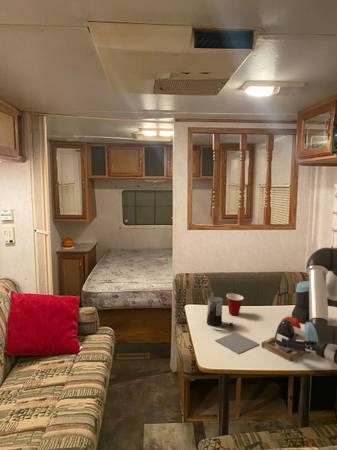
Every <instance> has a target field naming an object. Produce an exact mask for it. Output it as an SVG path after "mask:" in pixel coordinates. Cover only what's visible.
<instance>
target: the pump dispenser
mask: <svg viewBox="0 0 337 450" xmlns="http://www.w3.org/2000/svg"><path fill="white" fill-rule="evenodd" d="M277 334H280V335H282V336H284V337H287V338H289V339H290V340H294V341H297V338H296V337H297V335H295V331H294V327H293V325H292V323H291V322H290V321H289V320H282V319H281V320H280V322H279V324H278V325H277V328H276V331H275V334H274V337H275V339H274V341H275V343H274V344H275V347H276V348H278V349H280V350H282V351H284V352H286V353H288V352H292V351H293V350H294V349H291V348H287V344H286V343H283V342H281V341H279V340H277Z"/></svg>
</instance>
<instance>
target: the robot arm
mask: <svg viewBox="0 0 337 450" xmlns="http://www.w3.org/2000/svg"><path fill="white" fill-rule="evenodd" d="M305 268H306V269H305V271H306V274H307V275H308V280H306V281H303V280H302V281H299V282H298V283H297V284H296V288H295V300H294V301H295V303H294V307H293V309H292V311H291V316H290V317H292V318H296V319H297V320H298V321H299V323H300V324H304V330H303V329H299V328H296V327H294V326H293V327H294V331H295V333H296V334H298V335H299V336H301V337H304V338H305V340H303V341H301V340H296V341H294V340H290V339H289V338H287V337H284V336H282V335H280V334H277V340H279V341H281V342H283V343H286V344H287V348H291V349H293V350H295V351H296V350H300V351H304V352H306V353H307V354H310V353H311V351H312V352H315V354H316V356H318V357H320V358H322V359H325V360H327V361H329V362H332V363H333V364H335V365H337V326H336V325H331V324H330V325H329V307H333V308H337V248H336V247H321V248H318V249H316V250H315V251H314V252H313V253H312V254H311V255H310V256H309V258H308V260H307V262H306V267H305ZM329 272H330V275H329V278H328V281H327V275H328V273H329Z"/></svg>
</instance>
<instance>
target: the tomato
mask: <svg viewBox="0 0 337 450" xmlns="http://www.w3.org/2000/svg"><path fill="white" fill-rule="evenodd" d="M282 320H289V321H290V322H291V323H292V325H293V326H294V327H296V328H299V329H301V328H302V326H301V323H299V321H298V320H297V319H296V318H292V317H291V316H285V317H284V318H282V319H281V321H282ZM301 330H302V329H301ZM295 335H296V336H298V335H299V334H296V333H295Z"/></svg>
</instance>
